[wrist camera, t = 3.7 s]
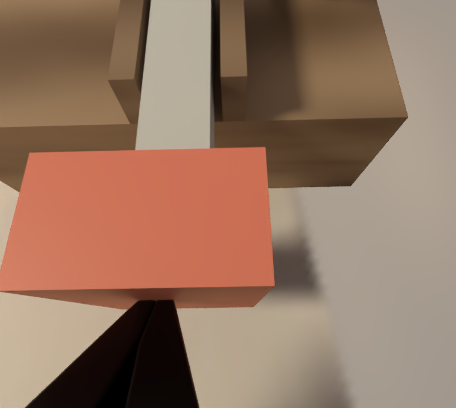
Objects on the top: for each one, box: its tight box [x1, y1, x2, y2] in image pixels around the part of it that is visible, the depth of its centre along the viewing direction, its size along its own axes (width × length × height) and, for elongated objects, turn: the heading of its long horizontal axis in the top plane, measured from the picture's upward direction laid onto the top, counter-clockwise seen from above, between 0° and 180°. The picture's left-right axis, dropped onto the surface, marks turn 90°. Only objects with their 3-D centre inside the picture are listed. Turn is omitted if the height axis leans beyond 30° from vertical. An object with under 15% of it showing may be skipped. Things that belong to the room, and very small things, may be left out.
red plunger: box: [0, 0, 275, 309], centre depth 10 cm, size 13×4×6 cm, turn 1°
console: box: [0, 0, 408, 192], centre depth 15 cm, size 8×18×8 cm, turn 91°
